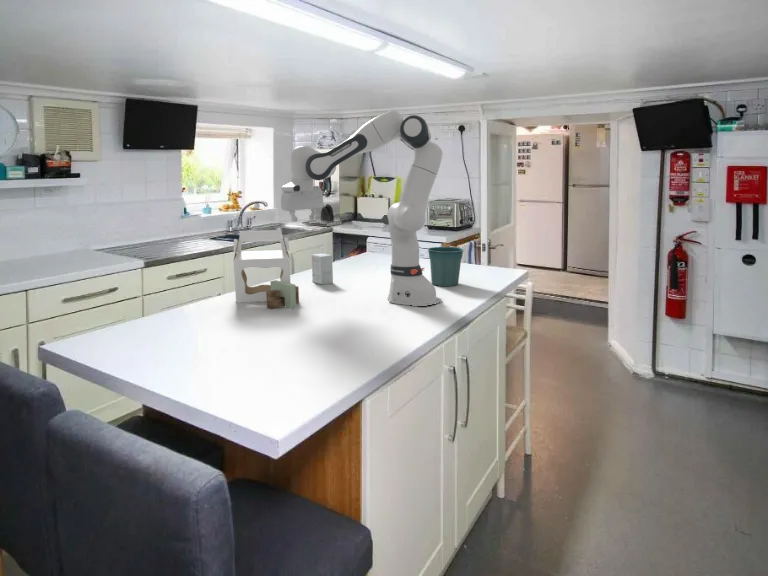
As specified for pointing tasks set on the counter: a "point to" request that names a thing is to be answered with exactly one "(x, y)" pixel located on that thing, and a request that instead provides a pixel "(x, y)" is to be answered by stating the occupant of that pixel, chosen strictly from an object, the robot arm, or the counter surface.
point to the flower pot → (445, 265)
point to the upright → (278, 298)
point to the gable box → (259, 263)
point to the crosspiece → (285, 292)
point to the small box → (322, 268)
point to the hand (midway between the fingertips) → (303, 220)
